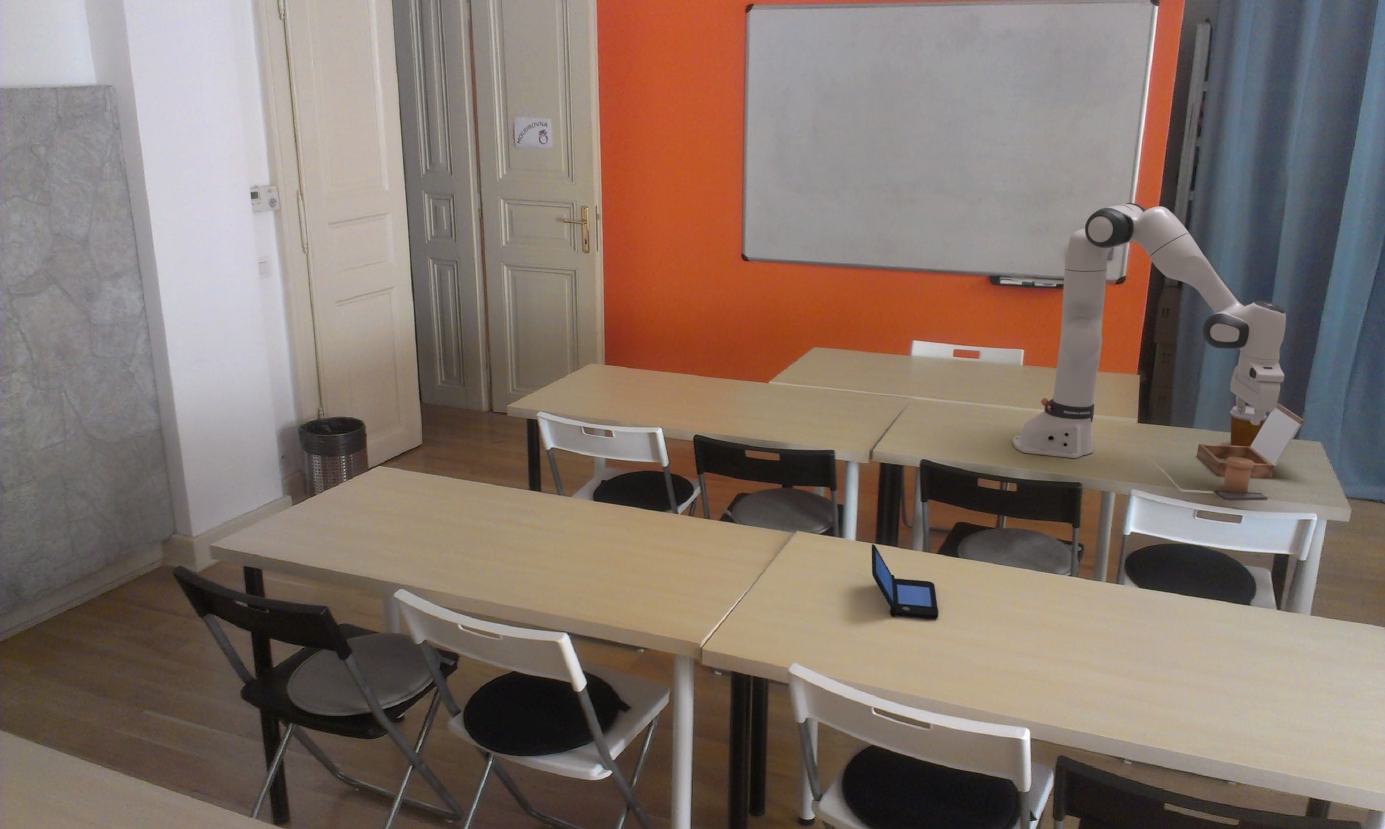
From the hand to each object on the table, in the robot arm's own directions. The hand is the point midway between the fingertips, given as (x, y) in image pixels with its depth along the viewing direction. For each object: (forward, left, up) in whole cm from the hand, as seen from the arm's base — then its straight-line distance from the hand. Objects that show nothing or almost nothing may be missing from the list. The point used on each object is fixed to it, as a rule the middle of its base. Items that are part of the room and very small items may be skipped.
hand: (1247, 418), depth 264 cm
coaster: (0, 0, -20) cm, 20 cm away
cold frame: (+6, +18, -20) cm, 28 cm away
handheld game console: (-91, -75, -21) cm, 120 cm away
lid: (+16, +18, -9) cm, 25 cm away
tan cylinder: (0, 0, -20) cm, 20 cm away
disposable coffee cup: (+16, +38, -20) cm, 46 cm away
